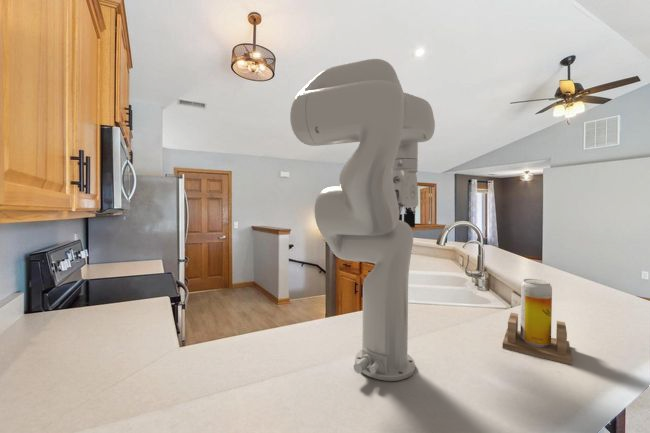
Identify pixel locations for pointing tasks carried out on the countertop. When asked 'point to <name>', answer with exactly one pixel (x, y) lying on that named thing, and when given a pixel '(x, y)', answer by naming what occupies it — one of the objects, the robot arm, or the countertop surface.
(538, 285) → the beer can
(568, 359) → the holder
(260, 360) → the countertop surface
